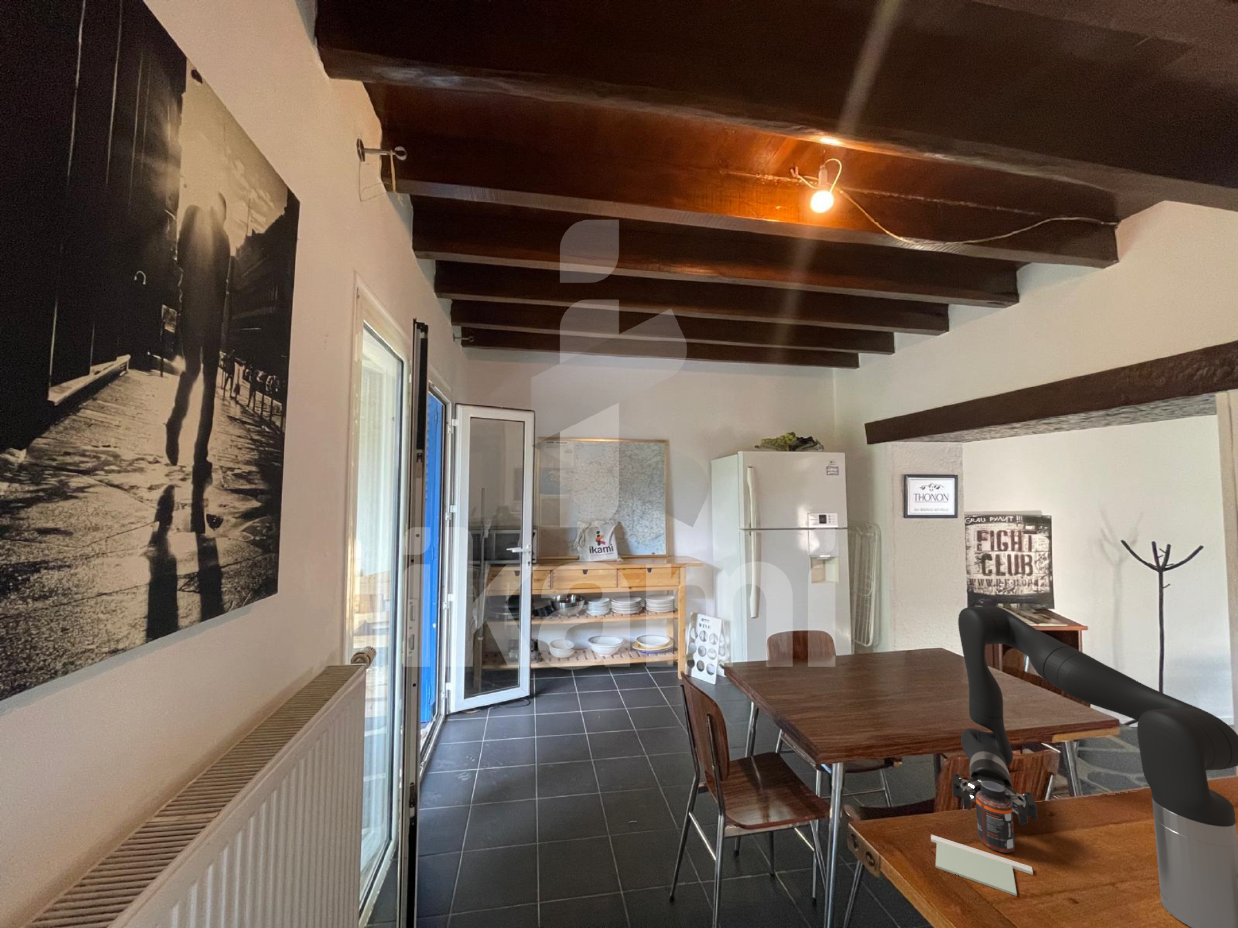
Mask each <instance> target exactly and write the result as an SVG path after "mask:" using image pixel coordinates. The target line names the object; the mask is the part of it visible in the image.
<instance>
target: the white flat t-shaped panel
mask: <svg viewBox="0 0 1238 928" xmlns="http://www.w3.org/2000/svg"><path fill="white" fill-rule="evenodd" d="M930 842H931V843H935V844H936V848H935V850H936V851H935V868H936V869H939V870H941V871H944V872H947V873H949V874H953V875H955V874H956V876H958V875H959V876H958V877H961V878H965V879H967V880H970V881H972V882H975V883H979V884H981V885H984V886H986V887H987V886H988V887H990V888H993V889H996V890H998V891H1002V892H1004V893H1007V894H1009V895H1012V896H1015V897H1017V896H1018V895H1017V894H1018V893H1017V888H1016V881H1015V875H1014V870H1016V871H1019V872H1023V873H1026V874H1029V875H1034V872H1033V867H1032V866H1031V865H1028V864H1025V863H1024V864H1023V863H1021V862H1019V861H1018V862H1017V861H1016V860H1015V861H1014V860H1011V859H1009V858H1006V857H1002V856H1000V855H997V854H993V853H989V852H986V851H985V850H980V849H977V848H975V847H972V846H968V845H966V844H962V843H959V842H955V841H953V840H949V839H946V838H943V837H940V836H937V835H934V834H930Z"/></svg>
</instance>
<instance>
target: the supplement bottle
mask: <svg viewBox="0 0 1238 928" xmlns="http://www.w3.org/2000/svg"><path fill="white" fill-rule="evenodd" d="M975 804H976V805H975V808H976V820H977V823H976V824H977V834H978V838H979V840H980V842H981V843H982V844H983V845H985V846H986V847H987V848H989V849H991V850H993V851H996V852H998V853H1004V854H1008V853H1010V854H1011V853H1013V852H1014V851H1015V849H1016V848H1015V847H1016V843H1015V842H1016V841H1015V827H1014V814H1013V813H1014V812H1013V811H1012V804H1011V802H1010V801H1009V800H1008V799H1007V798H1006V794H1005V789H1004V787H1003V786H1001V785H1000V784H998V783H995V782H991V781H982V782H981V790H980V791H978V792H977V793H976V802H975Z"/></svg>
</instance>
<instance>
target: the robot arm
mask: <svg viewBox="0 0 1238 928" xmlns="http://www.w3.org/2000/svg"><path fill="white" fill-rule="evenodd" d="M957 621H958V622H957V625H958V626H957V627H958V632H959V638H960V644H961V648H962V655H963V658H964V660H963V661H964V663H965V668H966V673H967V680H968V681H967V683H968V714H969V718H970V719H971V721H973V722H974V723H975V724H977V725H980V726H981V727H982V728H983V727H984V728H986V729H987V730H990V731H991V732H987V731H984V730H979V729H976V728H965V729H964V730H963V731H962V733H961V735H960V744H961V748H962V750H963V752H964V754H965V755H966V757H967V759H968V760H969V777H970V778H968V780H967V779H964V778H962V777H961V774H959V773H955V772H954V773H953V776H952V781H951V790H952V793H951V794H952V796H953V797H954V798H958V799H959V798H961V799H962V806H964V807H965V808H966V810H968V811H972V804H971V802H974V803H976V793H977V792H978V791H980V790H981V782H982V781H991V782H995V783H998V784H1000V785H1001V786H1003V787H1004V789H1005V794H1006V798H1007V799H1008V800H1009V801H1010V802H1011V804H1012V811H1013V813H1015V814H1016V815H1017V817H1018V823H1019V825H1020V826H1022V827H1025V825H1028V824H1029V817H1030V818H1031V819H1033V820H1038V819H1039V818H1038V817H1039V816H1038V805H1037V802H1036V801H1035V798H1034V796H1033V794H1032V793H1031V792H1029V791H1024V793H1023V794H1021V793H1018V792H1016V790H1015V789H1014V788H1013V784H1012V779H1011V775H1010V772H1009V769H1008V767H1007V766H1010V765H1011V763H1013V759H1014V754H1013V750H1012V747H1011V746H1012V745H1011V743H1010V740H1009V738H1008V735H1007V732H1006V728H1005V721H1004V699H1003V692H1002V690H1001V687H1000V685H999V683H998V682H997V679H996V678H995V676H994V675H993V674H992V672H991V670H990V668H989V665H988V664H987V661H986V653H985V652H986V645H998V644H999V645H1006V646H1009V647H1010V648H1013V649H1015V650H1017V651H1019V652H1020V653H1022V654H1024V655H1025V656H1026V657H1027V658H1028V660H1029V662H1030V663H1031V665H1032V667H1033V669H1034V670H1035V672H1036V673H1037V674H1038V675H1039V676H1040V677H1041V678H1042V679H1044V681H1046V682H1048V683H1049V684H1050V685H1052V686H1053V687H1056V688H1057V689H1059V690H1060V691H1062V692H1063V693H1065V694H1067V695H1069V696H1071V697H1073V698H1074V699H1076V700H1079V701H1082V702H1083V703H1086V704H1089V705H1093V706H1095V707H1098V708H1101V709H1104V710H1107V711H1111V712H1113V713H1117V714H1119V715H1122V716H1125V717H1127V718H1131V719H1133V720H1135V721H1137V726H1136V727H1137V729H1136V730H1137V731H1136V732H1137V733H1136V734H1137V740H1138V748H1139V755H1140V760H1141V761H1140V762H1141V766H1142V767H1141V768H1142V772H1143V776H1144V779H1145V780H1146V782H1147V784H1148V786H1149V788H1150V791H1151V800H1152V801H1151V802H1152V813H1153V825H1154V837H1155V847H1156V848H1155V849H1156V858H1157V860H1156V861H1157V870H1158V871H1157V872H1158V877H1159V878H1158V880H1159V881H1158V882H1159V887H1158V888H1159V893H1160V895H1159V896H1160V901H1161V905H1162V906H1163V907H1164V909H1165V910H1166V911H1167V912H1168V913H1169V914H1170V915H1171V916H1172V917H1174V918H1175V919H1177V921H1178V920H1179V922H1181V923H1183V924H1184V925H1186V926H1188V927H1190V928H1238V832H1237V831H1238V830H1237V823H1236V821H1237V820H1236V811H1235V807H1234V806H1233V804H1232V803H1231V801H1230V800H1229V799H1227V798H1226V797H1225V796H1224V795H1222V794H1220V793H1218V792H1216V791H1215V790H1213V789H1210V786H1209V781H1208V777H1207V771H1219V770H1227V769H1231V768H1235V767H1238V733H1237V732H1236V731H1235V730H1234V729H1233V728H1232V727H1231V726H1230V725H1228V724H1227V723H1226V722H1225V721H1224V720H1222V719H1221V718H1219V717H1218V716H1216V715H1214V714H1212V713H1211V712H1208V711H1206V710H1204V709H1202V708H1199V707H1197V706H1195V705H1192V704H1190V703H1188V702H1185V701H1182V700H1180V699H1178V698H1175V697H1173V696H1171V695H1169V694H1166V693H1163V692H1161V691H1159V690H1156V689H1155V688H1152V687H1150V686H1147V685H1145V684H1144V683H1142V682H1139V681H1138V680H1136V679H1134V678H1132V677H1130V676H1128V675H1126V674H1124V673H1123V672H1120V671H1119V670H1117V669H1114V668H1113V667H1111V666H1109V665H1107V664H1105V663H1102V662H1101V661H1100V660H1097V659H1095V658H1094V657H1092V656H1090V655H1088V654H1086V653H1084V652H1082V651H1081V650H1079V649H1077V648H1074V647H1073V646H1070V645H1068V644H1066V643H1064V642H1061V641H1060V640H1058V639H1056V638H1054V637H1052V636H1051V635H1048V634H1047V633H1044V632H1042V631H1041V630H1039V629H1037V628H1035V627H1033V626H1032V625H1030V624H1029V623H1027V622H1025V621H1024V620H1023V619H1020V617H1018V616H1017V615H1015V614H1013V613H1011V612H1010V611H1009V610H1006V609H1004V608H1002V607H999V606H994V605H993V606H992V605H988V606H987V605H986V606H967V607H964V608H963V609H962V610H960V612H959V614H958V620H957Z"/></svg>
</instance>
